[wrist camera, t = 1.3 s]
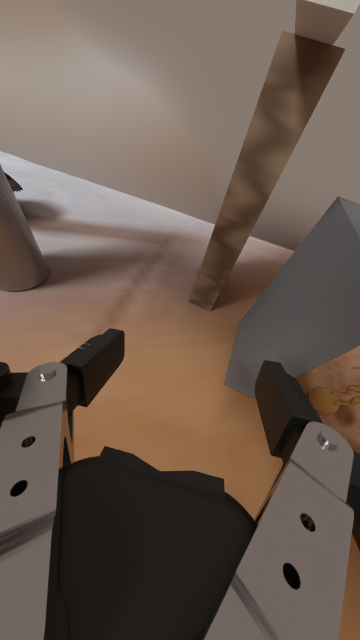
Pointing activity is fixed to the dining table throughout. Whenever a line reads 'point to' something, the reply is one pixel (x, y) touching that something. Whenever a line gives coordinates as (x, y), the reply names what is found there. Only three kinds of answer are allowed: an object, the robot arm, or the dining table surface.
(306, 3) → the bar
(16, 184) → the decorative flower
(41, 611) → the robot arm
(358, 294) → the grey rectangular box
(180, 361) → the dining table surface
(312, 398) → the figurine
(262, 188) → the tall wooden block
